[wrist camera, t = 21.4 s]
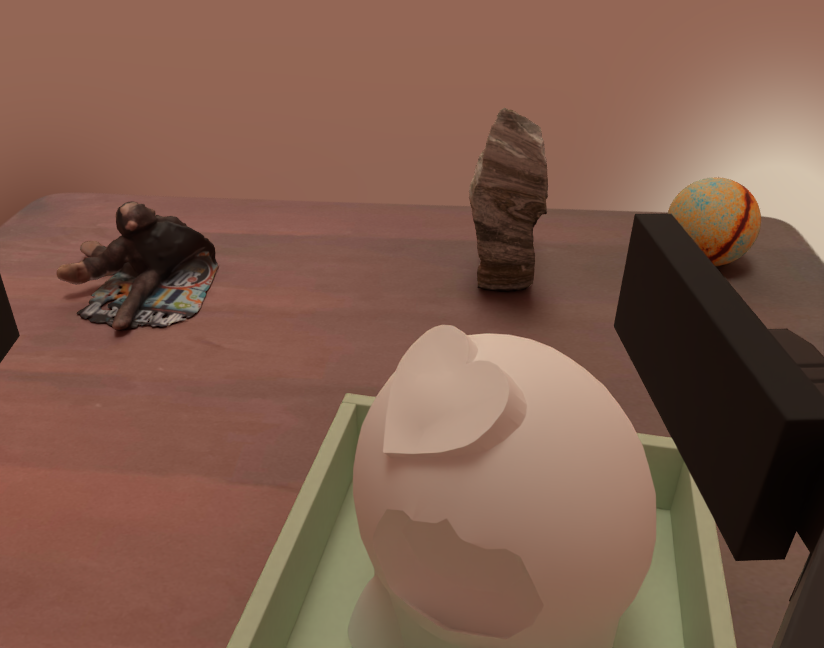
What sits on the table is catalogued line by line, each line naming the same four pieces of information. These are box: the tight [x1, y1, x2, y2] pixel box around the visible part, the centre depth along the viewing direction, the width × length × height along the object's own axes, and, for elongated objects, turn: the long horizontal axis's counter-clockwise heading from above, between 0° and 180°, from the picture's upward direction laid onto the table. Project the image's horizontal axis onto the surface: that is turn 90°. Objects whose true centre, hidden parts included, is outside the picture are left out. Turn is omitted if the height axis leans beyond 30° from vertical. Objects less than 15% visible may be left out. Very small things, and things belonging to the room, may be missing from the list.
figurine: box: [348, 325, 656, 648], centre depth 28 cm, size 11×11×15 cm
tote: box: [227, 393, 737, 648], centre depth 31 cm, size 18×18×5 cm
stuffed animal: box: [57, 202, 218, 330], centre depth 58 cm, size 12×10×12 cm
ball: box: [668, 178, 761, 266], centre depth 60 cm, size 7×7×7 cm
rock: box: [469, 108, 548, 291], centre depth 54 cm, size 13×6×15 cm, turn 159°
